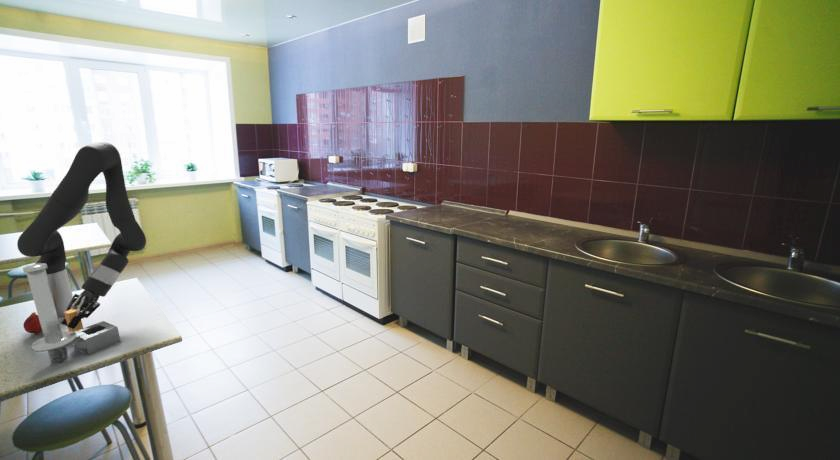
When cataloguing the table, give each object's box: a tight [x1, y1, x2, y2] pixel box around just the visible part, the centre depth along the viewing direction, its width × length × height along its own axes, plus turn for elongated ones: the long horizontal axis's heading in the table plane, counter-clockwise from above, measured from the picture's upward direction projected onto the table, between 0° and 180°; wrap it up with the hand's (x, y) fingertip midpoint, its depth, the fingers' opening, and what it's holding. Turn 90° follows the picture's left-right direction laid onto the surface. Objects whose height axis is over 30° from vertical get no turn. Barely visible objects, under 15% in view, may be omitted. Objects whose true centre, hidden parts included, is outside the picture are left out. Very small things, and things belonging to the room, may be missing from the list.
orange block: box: [64, 308, 84, 332], centre depth 134 cm, size 3×3×9 cm
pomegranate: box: [23, 311, 43, 335], centre depth 135 cm, size 6×6×8 cm
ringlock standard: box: [22, 263, 121, 365], centre depth 121 cm, size 10×20×30 cm, turn 152°
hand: (67, 326), depth 133 cm, fingers open, 3 cm apart
